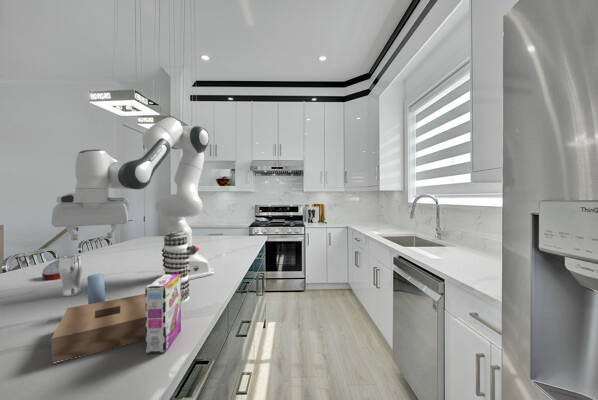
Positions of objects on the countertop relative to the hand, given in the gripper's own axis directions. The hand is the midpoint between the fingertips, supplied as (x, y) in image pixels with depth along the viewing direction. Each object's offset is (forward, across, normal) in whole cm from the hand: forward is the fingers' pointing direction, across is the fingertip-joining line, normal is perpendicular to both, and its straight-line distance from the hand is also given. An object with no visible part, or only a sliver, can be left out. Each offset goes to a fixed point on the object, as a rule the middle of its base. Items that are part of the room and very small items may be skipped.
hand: (92, 239), depth 90 cm
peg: (+24, -1, +1) cm, 24 cm away
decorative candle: (+24, -25, +5) cm, 35 cm away
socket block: (+24, -6, +20) cm, 32 cm away
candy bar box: (+24, -19, +34) cm, 46 cm away
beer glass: (+24, +10, -25) cm, 36 cm away
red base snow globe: (+25, +21, -58) cm, 66 cm away
